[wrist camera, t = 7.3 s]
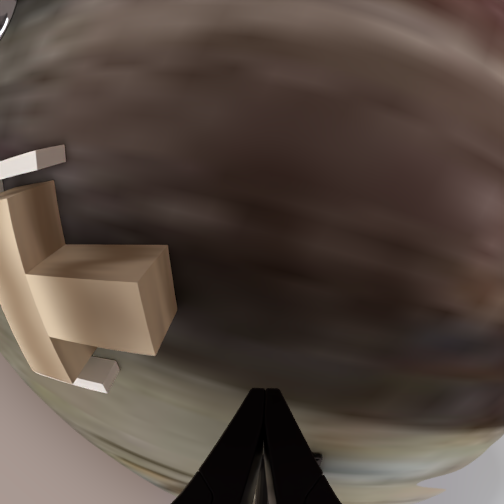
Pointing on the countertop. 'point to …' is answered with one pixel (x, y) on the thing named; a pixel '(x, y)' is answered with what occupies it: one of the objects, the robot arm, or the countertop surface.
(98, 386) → the bracket
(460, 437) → the countertop surface
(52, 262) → the t block
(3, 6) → the wine glass
